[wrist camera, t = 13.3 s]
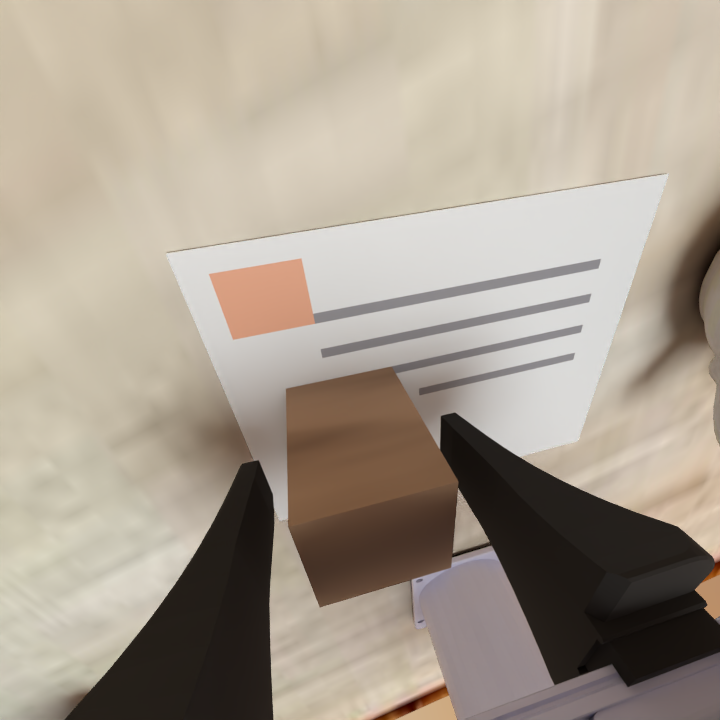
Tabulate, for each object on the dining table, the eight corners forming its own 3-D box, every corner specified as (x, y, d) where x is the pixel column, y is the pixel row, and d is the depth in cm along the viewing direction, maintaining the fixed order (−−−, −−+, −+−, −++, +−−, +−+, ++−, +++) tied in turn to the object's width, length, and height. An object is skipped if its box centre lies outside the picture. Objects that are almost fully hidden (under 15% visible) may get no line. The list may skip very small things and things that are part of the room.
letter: (576, 439, 19) (578, 441, 19) (279, 519, 17) (279, 521, 17) (665, 173, 12) (669, 173, 12) (166, 252, 10) (165, 253, 10)
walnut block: (396, 441, 16) (451, 567, 11) (307, 463, 15) (319, 607, 10) (391, 366, 13) (458, 481, 8) (285, 388, 13) (288, 526, 8)
